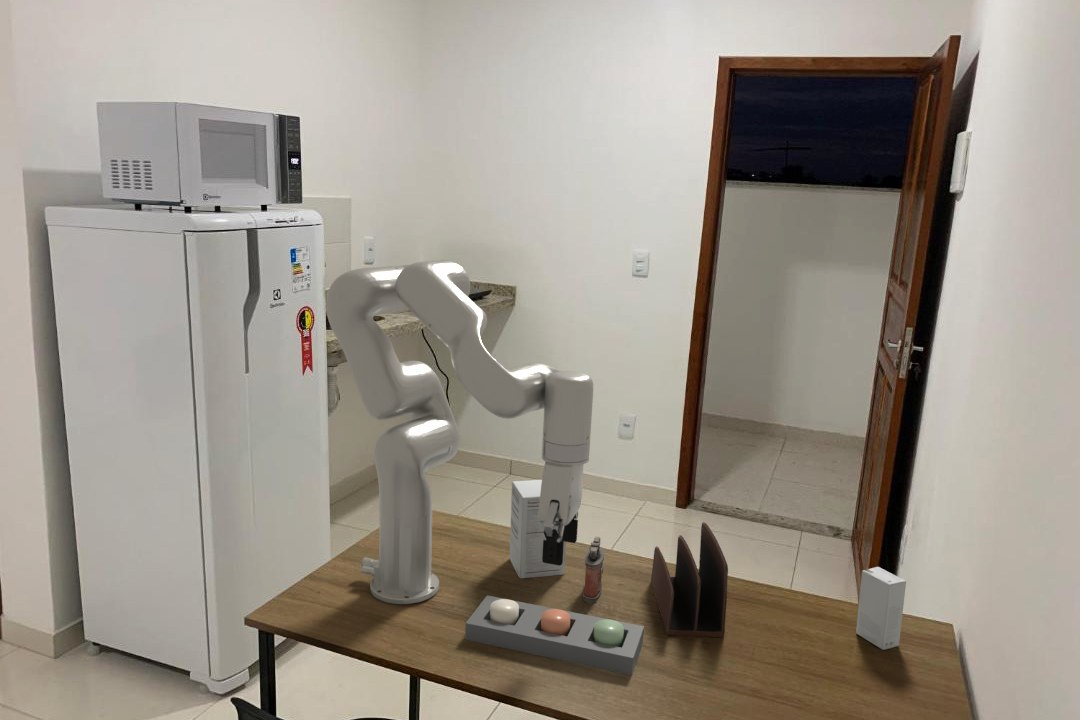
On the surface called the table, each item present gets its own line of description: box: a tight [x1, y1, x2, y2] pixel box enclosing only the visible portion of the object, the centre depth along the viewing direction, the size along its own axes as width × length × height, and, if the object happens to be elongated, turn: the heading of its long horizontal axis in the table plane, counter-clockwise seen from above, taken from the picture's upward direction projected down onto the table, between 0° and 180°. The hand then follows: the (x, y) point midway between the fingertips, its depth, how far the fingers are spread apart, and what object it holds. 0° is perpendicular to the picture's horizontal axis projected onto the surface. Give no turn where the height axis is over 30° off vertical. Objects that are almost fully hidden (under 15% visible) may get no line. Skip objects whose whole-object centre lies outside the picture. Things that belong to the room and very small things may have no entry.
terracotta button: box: [541, 608, 570, 636], centre depth 132 cm, size 5×5×3 cm
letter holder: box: [650, 521, 729, 638], centre depth 144 cm, size 10×20×14 cm, turn 0°
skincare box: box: [855, 566, 907, 650], centre depth 136 cm, size 6×4×12 cm
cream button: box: [490, 598, 519, 626], centre depth 134 cm, size 5×5×3 cm
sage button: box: [593, 618, 624, 648], centre depth 129 cm, size 5×5×3 cm
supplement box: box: [509, 479, 567, 579], centre depth 157 cm, size 10×9×17 cm
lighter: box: [582, 536, 605, 603], centre depth 149 cm, size 8×3×10 cm, turn 168°
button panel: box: [464, 595, 645, 676], centre depth 132 cm, size 28×10×3 cm, turn 73°
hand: (559, 551), depth 129 cm, fingers open, 8 cm apart
